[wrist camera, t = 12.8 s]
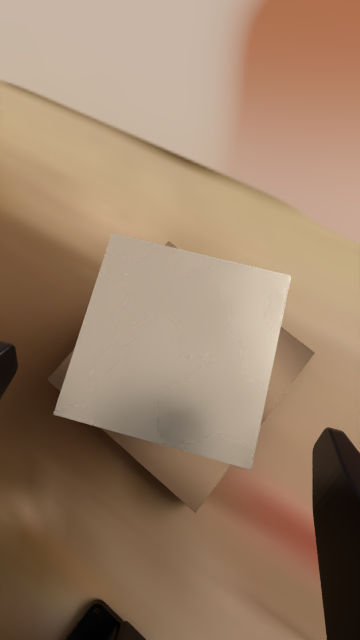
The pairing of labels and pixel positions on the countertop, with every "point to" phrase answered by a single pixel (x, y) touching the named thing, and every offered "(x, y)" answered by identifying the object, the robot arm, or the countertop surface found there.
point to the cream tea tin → (177, 350)
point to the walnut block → (190, 469)
